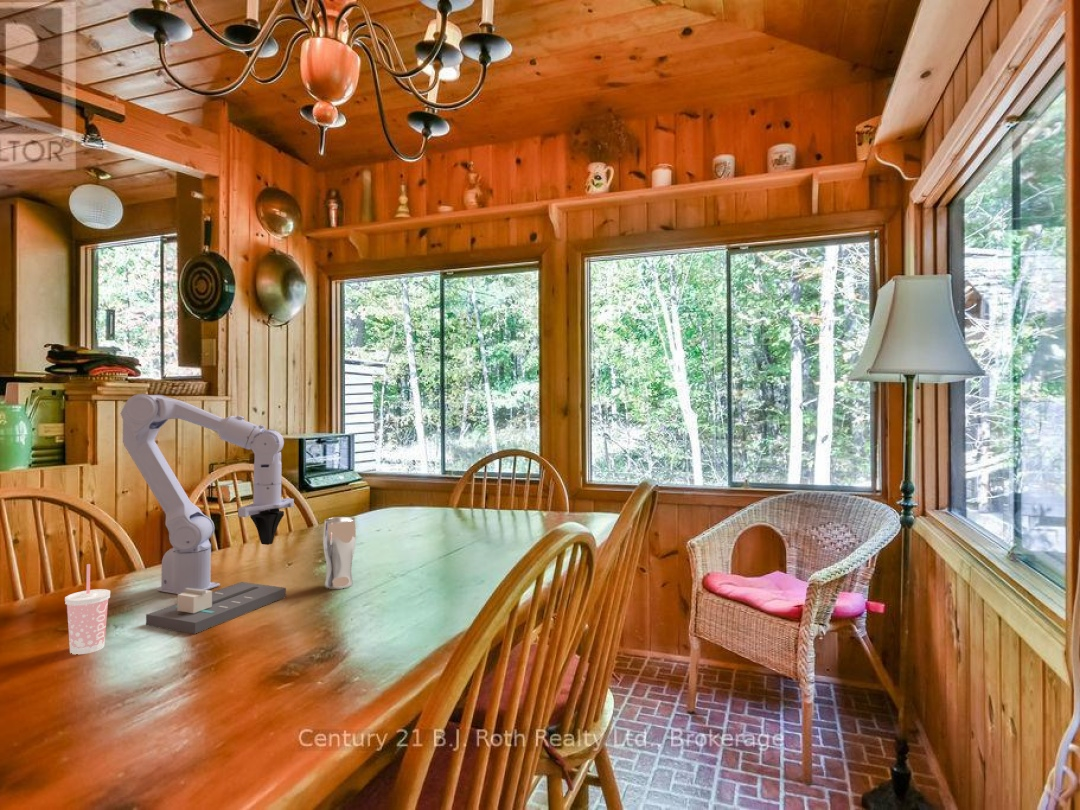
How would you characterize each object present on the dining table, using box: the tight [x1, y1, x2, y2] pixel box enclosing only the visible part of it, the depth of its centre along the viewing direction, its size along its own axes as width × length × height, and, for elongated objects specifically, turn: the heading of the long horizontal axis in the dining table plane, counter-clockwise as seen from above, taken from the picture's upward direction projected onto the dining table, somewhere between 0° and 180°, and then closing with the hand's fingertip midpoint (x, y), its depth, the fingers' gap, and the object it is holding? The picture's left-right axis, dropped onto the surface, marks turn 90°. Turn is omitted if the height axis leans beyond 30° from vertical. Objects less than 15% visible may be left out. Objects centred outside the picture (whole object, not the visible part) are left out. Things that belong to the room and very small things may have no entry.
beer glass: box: [322, 516, 357, 590], centre depth 136 cm, size 7×7×15 cm
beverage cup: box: [64, 563, 111, 655], centre depth 99 cm, size 6×6×14 cm
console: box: [145, 581, 287, 635], centre depth 118 cm, size 12×22×2 cm, turn 161°
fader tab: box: [176, 588, 213, 613], centre depth 113 cm, size 4×4×4 cm
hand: (266, 543), depth 135 cm, fingers closed
